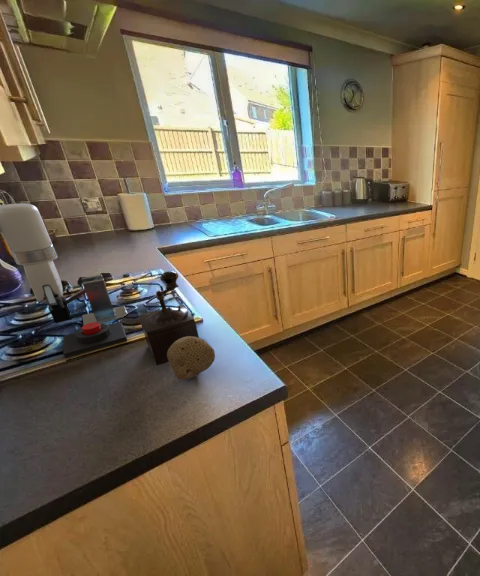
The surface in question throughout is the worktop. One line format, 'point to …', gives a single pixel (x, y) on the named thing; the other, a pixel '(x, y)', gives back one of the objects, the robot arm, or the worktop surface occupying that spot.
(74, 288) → the worktop surface
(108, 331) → the control block
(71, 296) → the switch lever
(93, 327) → the stop button
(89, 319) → the switch bracket
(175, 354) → the natural sponge
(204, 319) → the worktop surface
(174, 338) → the manual coffee grinder
